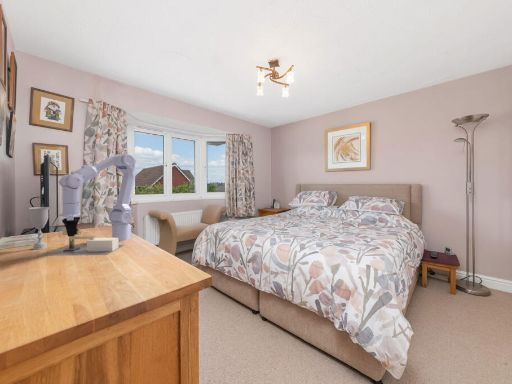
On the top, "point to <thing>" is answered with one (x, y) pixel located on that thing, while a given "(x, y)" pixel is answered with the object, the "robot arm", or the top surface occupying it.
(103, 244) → the cover
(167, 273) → the top surface
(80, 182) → the robot arm
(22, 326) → the top surface
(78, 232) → the t key
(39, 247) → the chalice
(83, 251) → the plate
